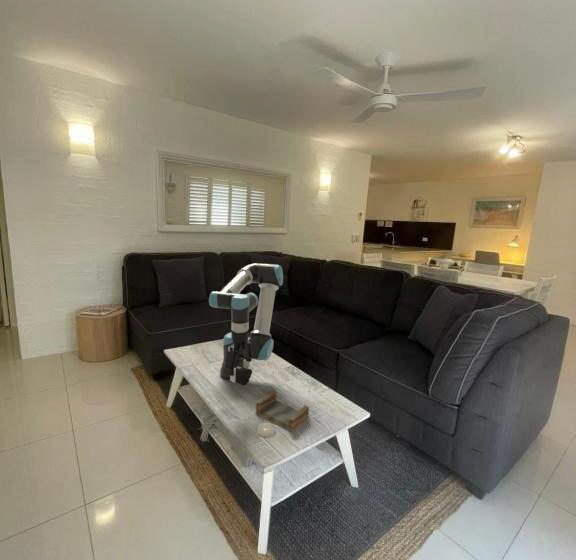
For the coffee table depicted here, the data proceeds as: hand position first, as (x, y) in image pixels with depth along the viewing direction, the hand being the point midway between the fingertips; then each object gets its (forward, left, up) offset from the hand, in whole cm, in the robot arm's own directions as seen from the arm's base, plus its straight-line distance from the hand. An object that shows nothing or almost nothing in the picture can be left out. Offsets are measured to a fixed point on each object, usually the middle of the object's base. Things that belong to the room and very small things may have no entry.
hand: (239, 377), depth 139 cm
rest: (+20, +7, -14) cm, 25 cm away
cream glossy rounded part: (+21, -5, -14) cm, 26 cm away
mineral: (+2, 0, -1) cm, 2 cm away
